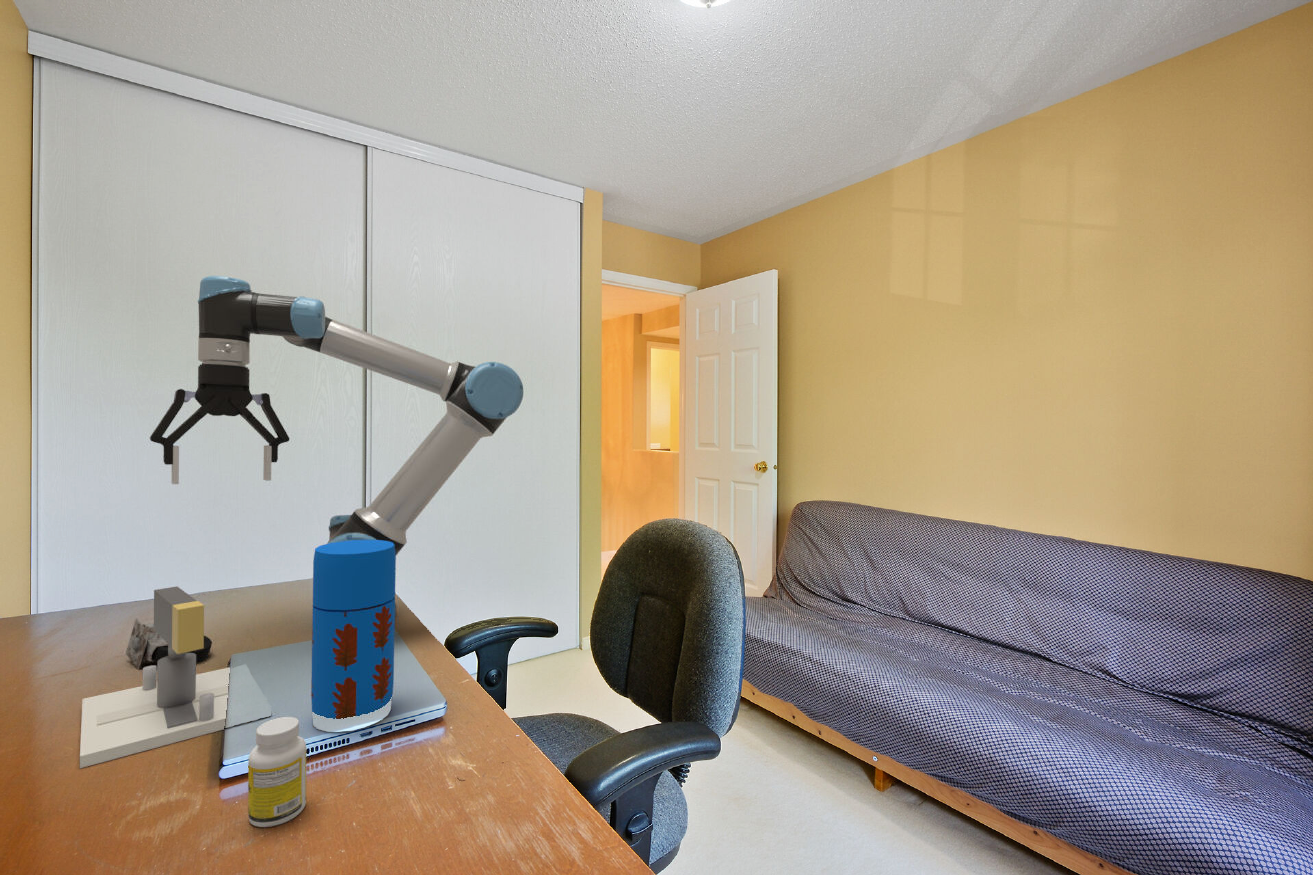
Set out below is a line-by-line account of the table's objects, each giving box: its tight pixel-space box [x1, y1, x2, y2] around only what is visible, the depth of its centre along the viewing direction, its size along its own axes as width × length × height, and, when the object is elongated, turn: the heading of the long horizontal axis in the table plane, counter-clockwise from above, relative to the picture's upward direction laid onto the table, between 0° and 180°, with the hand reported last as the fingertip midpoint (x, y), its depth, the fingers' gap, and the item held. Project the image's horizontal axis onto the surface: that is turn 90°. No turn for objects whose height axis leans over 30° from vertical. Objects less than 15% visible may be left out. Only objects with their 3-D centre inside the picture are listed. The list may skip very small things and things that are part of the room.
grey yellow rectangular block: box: [153, 586, 205, 659], centre depth 86 cm, size 14×3×9 cm, turn 51°
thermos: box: [310, 540, 397, 719], centre depth 87 cm, size 11×11×25 cm
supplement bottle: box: [247, 716, 307, 828], centre depth 65 cm, size 5×5×10 cm
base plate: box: [79, 653, 230, 769], centre depth 86 cm, size 20×20×8 cm
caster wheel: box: [125, 618, 213, 670], centre depth 105 cm, size 7×11×10 cm
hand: (223, 481), depth 107 cm, fingers open, 13 cm apart
